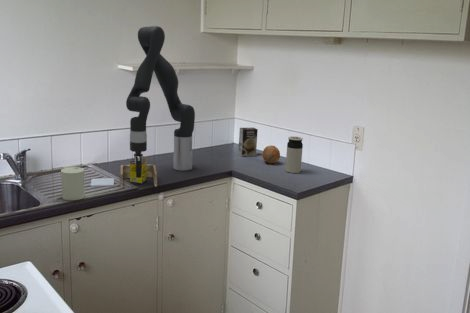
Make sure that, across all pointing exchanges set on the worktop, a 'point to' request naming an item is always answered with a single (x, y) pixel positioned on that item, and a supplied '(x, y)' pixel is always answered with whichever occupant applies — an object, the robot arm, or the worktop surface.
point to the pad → (102, 182)
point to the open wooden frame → (150, 173)
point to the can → (72, 183)
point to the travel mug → (294, 154)
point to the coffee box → (247, 142)
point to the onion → (271, 154)
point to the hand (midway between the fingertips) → (138, 174)
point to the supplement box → (133, 172)
